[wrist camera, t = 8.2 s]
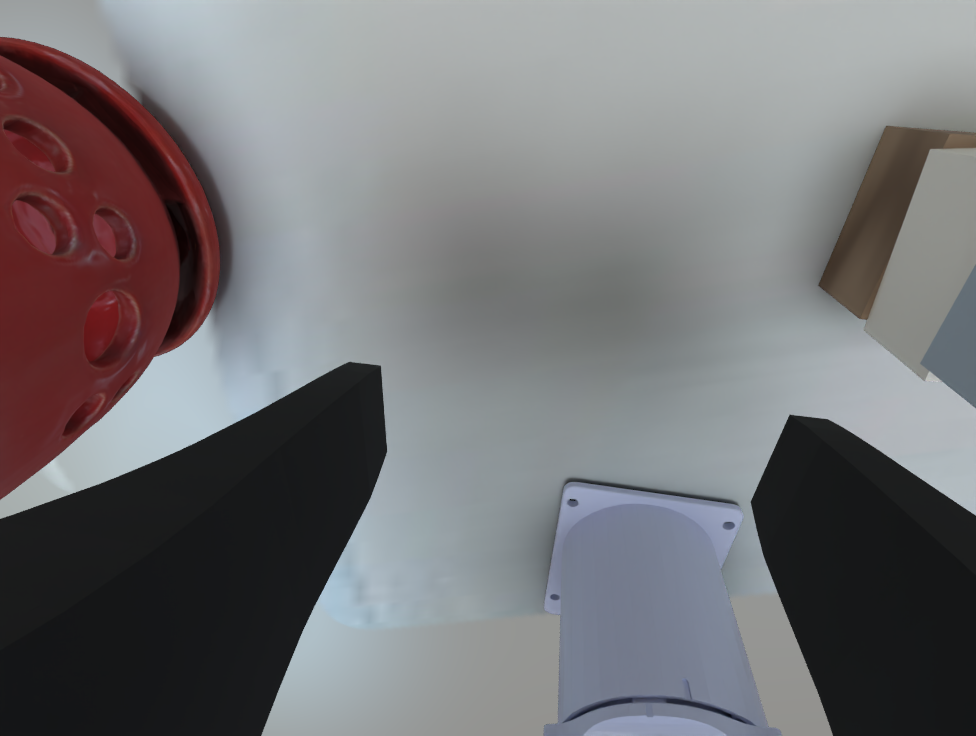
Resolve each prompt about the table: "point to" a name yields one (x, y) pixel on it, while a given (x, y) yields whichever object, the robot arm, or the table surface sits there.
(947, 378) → the slate block
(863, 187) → the walnut block
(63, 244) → the plant pot
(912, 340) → the cream block
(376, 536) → the table surface
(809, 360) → the table surface
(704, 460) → the table surface
